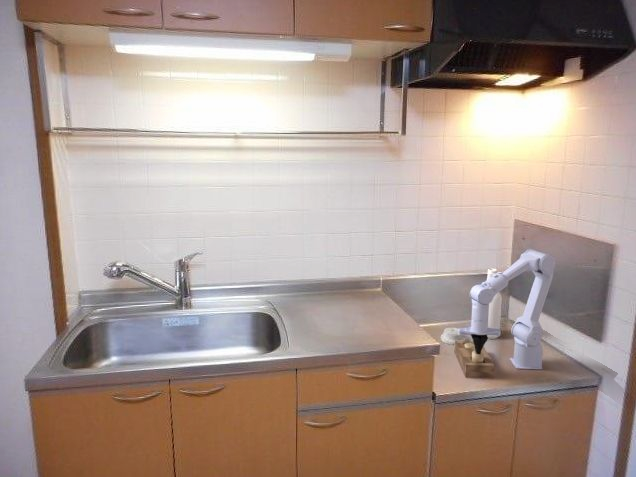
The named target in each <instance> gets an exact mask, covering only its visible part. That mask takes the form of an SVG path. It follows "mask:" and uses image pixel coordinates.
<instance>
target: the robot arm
mask: <svg viewBox="0 0 636 477" xmlns="http://www.w3.org/2000/svg"><path fill="white" fill-rule="evenodd" d="M556 265H557V262H556V260H555V258H554V256H552V255H551V254H548V253H544V252H542V251H541V252H540V251H537V250H535V249H533V248H529V249H527V250H526V251H525V252H523V253H521V254H520V256H519V259H517V260H516V261H515V262H514V263H513V264H511V265H510V266H509V267H508V268H506V269H505V270H504V271H503V272H502V273H499V272H497V273H496V274H493V275H492V277H490V278H489V279H488V280H487V279H486V280H485V281H483V282H481V284H475V285H474V286H472V287H471V289H470V291H469V294H468V295H469V298H470V299H471V320H470V321H471V322H470V323H471V324H470V326H468V327H461V328H460V327H459V328H458V327H457V329H458V334H459V335H463V336H464V335H466V336H467V335H469V336H471V338H472V341H473V342H474V346H475V352H476V354H481V351H482V348H483V347H484V346H485V344H486V343H487V341H488V340H489V339H488V337H487V335H497V336H499V337H501V332H502V331H501V330H500V329H501V328H500V329H494V328H488V316H489V303H491V302H492V300H493V298H494V296H495V295H496V294H497V293H498V292H499V293H500V292H501V291H502V290H504V289H506V287H508V284H509V282H510V281H511V280H513V279H514V278H516V277H518V276H519V275H520V274H522V273H524V272H525V271H531V272H532V273H533V274H534V276H535V278H534V279H533V280H534V281H533V283H532V287H531V290H530V293H529V296H528V298H527V302H526V305H525V307H524V311H523V314H522V315H521V316H519V317H517V318H516V320H515V322H514V323H513V325H512V326H511V329H510V333H511V335H512V336H513V340H514V348H513V350H514V351H513V357H510V358H509V360H510V361H511V364H512V365H513V366H514V367H515V369H517V370H518V369H519V370H543V367H542V365H543V353H544V350H543V346H542V344H541V343H540V342H541V340H542V332H543V328H542V325H541V323H540V317H541V314H542V311H543V308H544V305H545V301H546V298H547V297H548V296H547V295H548V293H549V289H550V288H551V284H552V280H553V278H554V270H555V267H556Z"/></svg>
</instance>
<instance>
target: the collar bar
mask: <svg viewBox="0 0 636 477" xmlns="http://www.w3.org/2000/svg"><path fill="white" fill-rule="evenodd" d="M465 343H473V344H474V342H473V340H465V341H455V344H454V349H453V350H454V355H455V357H456V359H457V362H458V364H459V367H460V369H461V370H462V373H463V375H464V377H465V378H468V379H472V378H473V379H480V378H481V379H495V366H496V365H495V364H494V362H493V360H492V358H491V357H490V355H489V354H488V352H487V350H486V348H485V347H484V346H483V348H482V352H483V353H484V358H483V363H473V362H472V352H473V351H475V348H465Z"/></svg>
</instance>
